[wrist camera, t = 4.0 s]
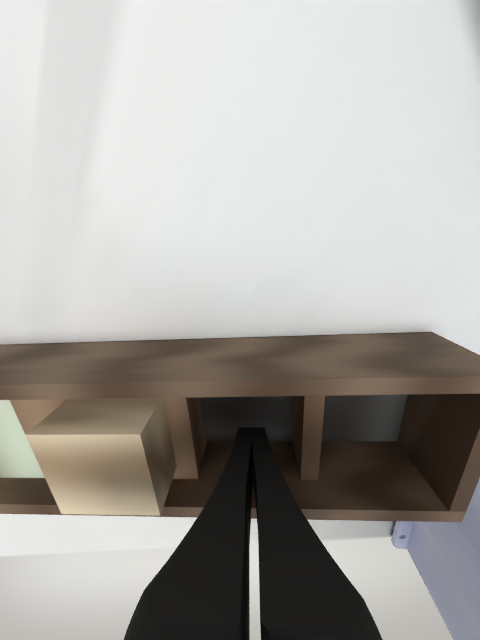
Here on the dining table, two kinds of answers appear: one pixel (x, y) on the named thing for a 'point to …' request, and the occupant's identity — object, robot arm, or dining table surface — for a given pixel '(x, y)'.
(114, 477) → the beech block
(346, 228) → the dining table surface
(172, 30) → the dining table surface
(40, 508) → the brown wooden long box
